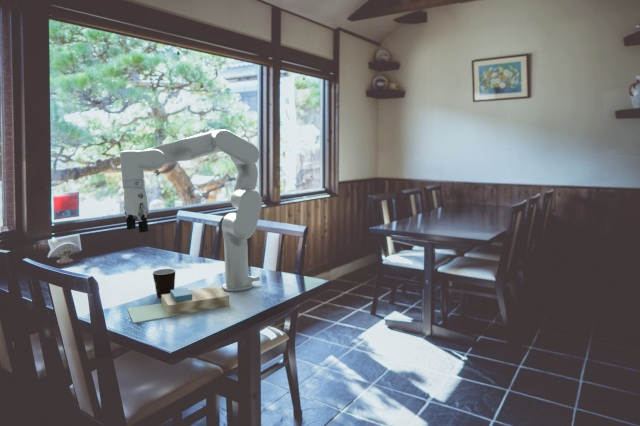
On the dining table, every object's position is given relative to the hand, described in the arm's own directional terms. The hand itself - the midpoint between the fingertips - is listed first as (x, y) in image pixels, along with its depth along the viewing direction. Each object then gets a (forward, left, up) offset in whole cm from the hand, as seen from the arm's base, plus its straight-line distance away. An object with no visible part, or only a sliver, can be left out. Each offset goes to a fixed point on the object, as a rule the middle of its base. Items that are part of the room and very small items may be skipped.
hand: (137, 230), depth 180 cm
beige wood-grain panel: (-17, +11, -29) cm, 35 cm away
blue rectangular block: (-12, +11, -25) cm, 30 cm away
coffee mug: (-10, -8, -29) cm, 32 cm away
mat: (0, +11, -29) cm, 31 cm away
